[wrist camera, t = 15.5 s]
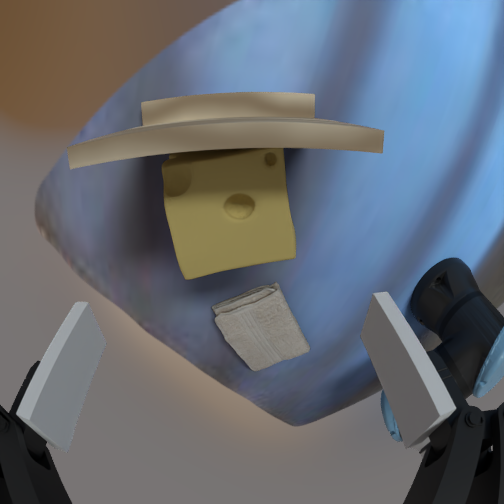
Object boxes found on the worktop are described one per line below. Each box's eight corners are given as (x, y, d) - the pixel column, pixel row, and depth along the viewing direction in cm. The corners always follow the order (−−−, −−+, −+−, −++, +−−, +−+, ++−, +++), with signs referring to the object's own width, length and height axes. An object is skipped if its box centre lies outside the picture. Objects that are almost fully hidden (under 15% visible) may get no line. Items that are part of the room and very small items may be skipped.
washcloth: (275, 275, 42) (278, 287, 39) (311, 343, 50) (314, 355, 47) (206, 303, 44) (205, 316, 41) (254, 364, 52) (255, 376, 49)
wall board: (306, 218, 37) (355, 304, 21) (158, 225, 36) (111, 314, 20) (311, 94, 29) (385, 86, 13) (145, 102, 28) (62, 104, 12)
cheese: (174, 149, 28) (146, 169, 19) (273, 131, 27) (291, 141, 19) (195, 234, 33) (182, 283, 24) (285, 219, 32) (303, 264, 24)
